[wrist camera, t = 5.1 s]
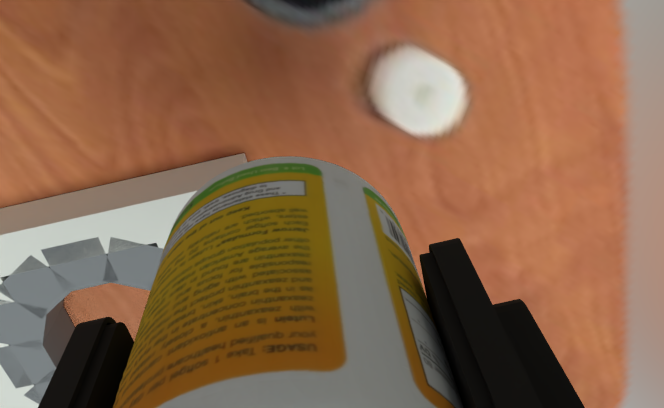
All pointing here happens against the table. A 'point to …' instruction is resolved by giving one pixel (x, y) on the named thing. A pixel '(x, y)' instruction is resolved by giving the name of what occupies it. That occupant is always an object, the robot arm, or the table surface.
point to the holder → (79, 262)
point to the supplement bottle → (287, 300)
